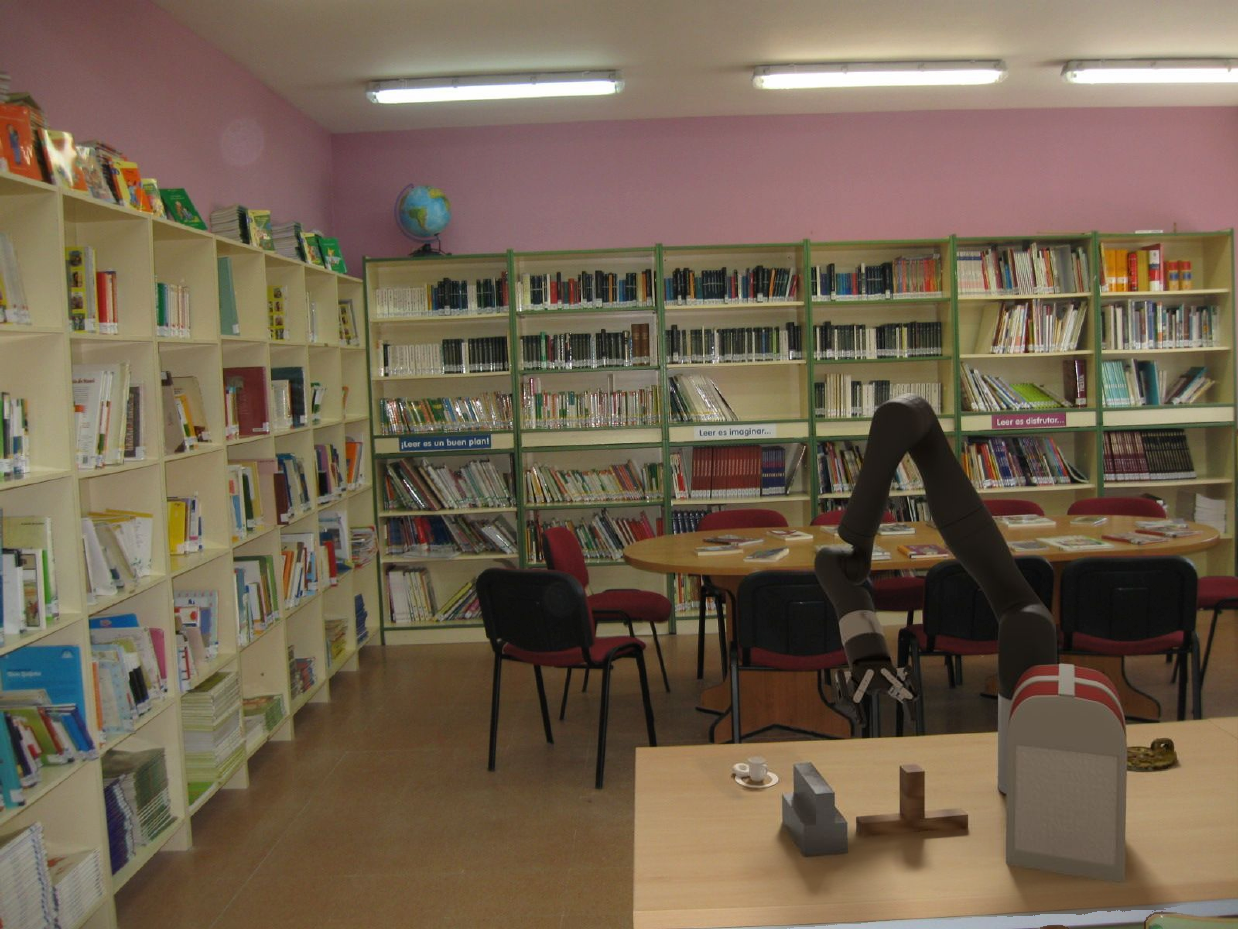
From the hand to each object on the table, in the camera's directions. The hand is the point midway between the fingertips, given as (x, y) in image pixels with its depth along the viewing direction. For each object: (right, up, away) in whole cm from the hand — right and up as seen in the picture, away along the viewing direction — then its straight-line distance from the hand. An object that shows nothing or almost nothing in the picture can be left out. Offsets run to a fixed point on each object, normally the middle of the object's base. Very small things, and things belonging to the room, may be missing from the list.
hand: (888, 724), depth 172 cm
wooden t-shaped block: (+2, -15, -9) cm, 17 cm away
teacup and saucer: (-20, -14, +16) cm, 29 cm away
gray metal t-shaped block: (-15, -15, -11) cm, 24 cm away
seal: (+52, -12, +16) cm, 55 cm away
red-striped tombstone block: (+23, -15, -16) cm, 32 cm away
